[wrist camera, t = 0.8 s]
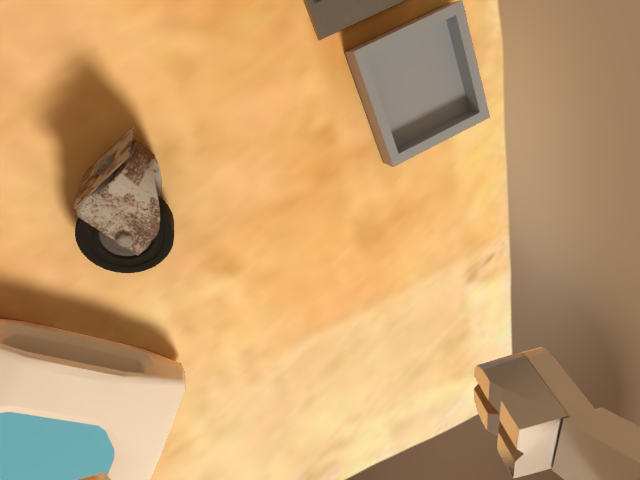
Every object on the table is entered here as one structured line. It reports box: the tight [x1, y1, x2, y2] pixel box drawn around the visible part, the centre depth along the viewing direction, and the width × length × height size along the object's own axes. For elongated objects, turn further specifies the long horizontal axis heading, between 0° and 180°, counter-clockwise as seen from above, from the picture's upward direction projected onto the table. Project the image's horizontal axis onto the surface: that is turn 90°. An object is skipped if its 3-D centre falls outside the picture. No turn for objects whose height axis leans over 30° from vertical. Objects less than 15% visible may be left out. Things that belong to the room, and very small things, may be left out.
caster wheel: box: [72, 126, 174, 273], centre depth 43 cm, size 7×11×10 cm
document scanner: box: [0, 319, 186, 480], centre depth 47 cm, size 21×28×6 cm
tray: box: [344, 0, 490, 167], centre depth 48 cm, size 12×12×2 cm
